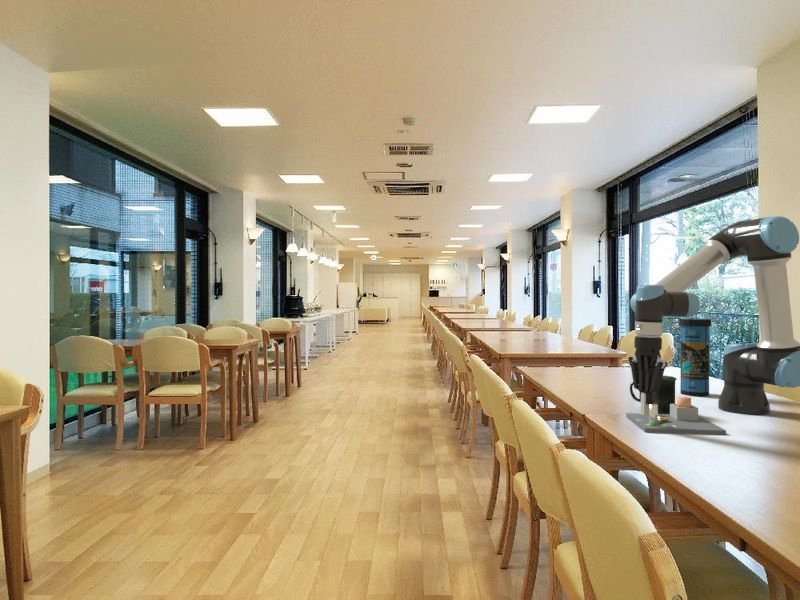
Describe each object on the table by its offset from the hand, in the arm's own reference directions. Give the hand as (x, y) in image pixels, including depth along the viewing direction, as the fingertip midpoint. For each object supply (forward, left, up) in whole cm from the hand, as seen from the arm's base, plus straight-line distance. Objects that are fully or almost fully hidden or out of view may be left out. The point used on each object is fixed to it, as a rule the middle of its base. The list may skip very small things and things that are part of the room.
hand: (645, 414), depth 165 cm
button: (-14, -9, -2) cm, 17 cm away
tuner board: (-9, -4, -4) cm, 11 cm away
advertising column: (-36, -59, -4) cm, 69 cm away
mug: (-9, -23, -4) cm, 25 cm away
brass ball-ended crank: (-4, -1, -3) cm, 5 cm away
